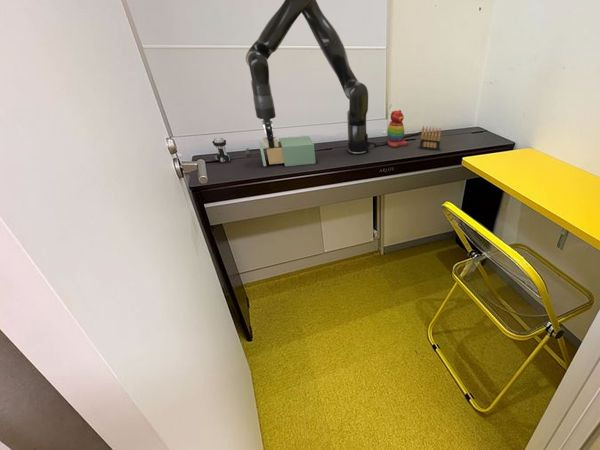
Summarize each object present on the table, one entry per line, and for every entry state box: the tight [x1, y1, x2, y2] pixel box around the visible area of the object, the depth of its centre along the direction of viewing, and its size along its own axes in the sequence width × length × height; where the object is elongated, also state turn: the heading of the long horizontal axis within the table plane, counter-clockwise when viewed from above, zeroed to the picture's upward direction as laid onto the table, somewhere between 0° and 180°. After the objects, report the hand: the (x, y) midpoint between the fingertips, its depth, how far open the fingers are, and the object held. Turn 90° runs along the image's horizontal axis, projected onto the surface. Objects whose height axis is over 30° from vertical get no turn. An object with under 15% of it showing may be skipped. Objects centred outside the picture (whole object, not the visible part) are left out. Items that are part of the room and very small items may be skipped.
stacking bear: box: [386, 109, 408, 148], centre depth 168 cm, size 11×10×18 cm
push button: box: [212, 137, 231, 163], centre depth 138 cm, size 7×5×10 cm
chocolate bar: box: [262, 136, 279, 149], centre depth 137 cm, size 6×4×3 cm
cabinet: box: [278, 135, 317, 168], centre depth 143 cm, size 14×12×9 cm
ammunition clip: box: [419, 125, 442, 151], centre depth 166 cm, size 11×2×12 cm, turn 83°
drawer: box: [245, 140, 284, 167], centre depth 139 cm, size 18×11×7 cm, turn 114°
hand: (271, 145), depth 138 cm, fingers closed on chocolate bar, 4 cm apart
